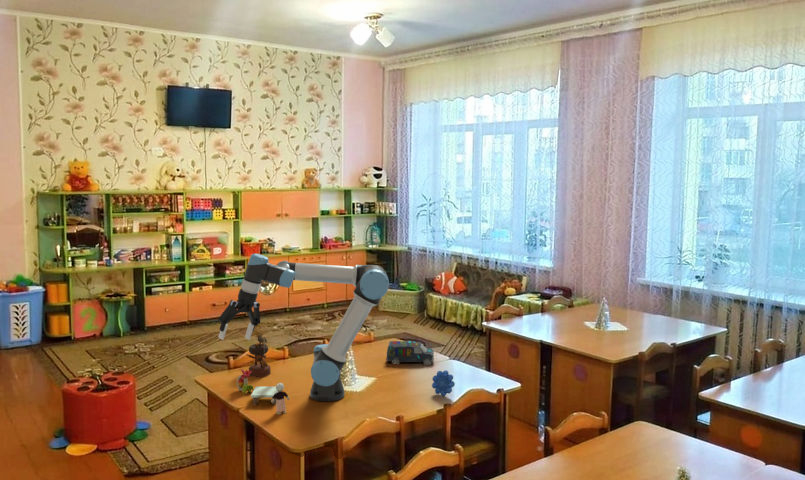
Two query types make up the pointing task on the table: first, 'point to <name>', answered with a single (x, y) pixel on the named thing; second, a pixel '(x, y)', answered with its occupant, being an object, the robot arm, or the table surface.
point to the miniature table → (264, 393)
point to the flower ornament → (244, 382)
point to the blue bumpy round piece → (443, 383)
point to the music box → (259, 358)
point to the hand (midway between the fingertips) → (234, 338)
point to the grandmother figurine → (280, 399)
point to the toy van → (409, 352)
